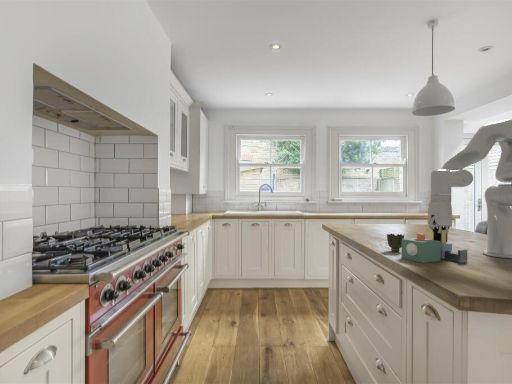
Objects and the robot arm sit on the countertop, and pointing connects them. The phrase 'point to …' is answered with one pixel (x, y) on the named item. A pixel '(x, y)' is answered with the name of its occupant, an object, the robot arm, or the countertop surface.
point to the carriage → (444, 245)
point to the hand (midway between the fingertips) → (440, 241)
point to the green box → (421, 250)
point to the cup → (395, 241)
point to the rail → (457, 256)
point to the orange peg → (421, 237)
